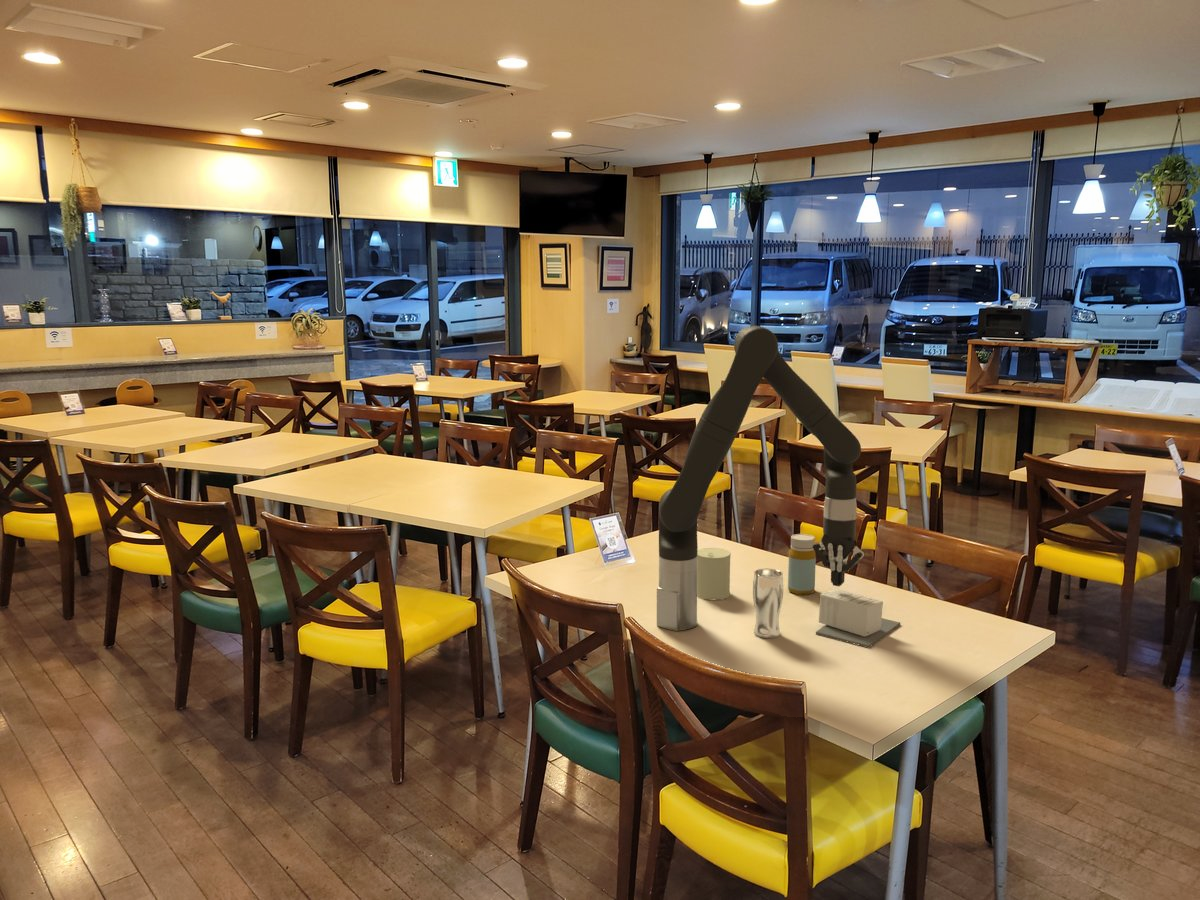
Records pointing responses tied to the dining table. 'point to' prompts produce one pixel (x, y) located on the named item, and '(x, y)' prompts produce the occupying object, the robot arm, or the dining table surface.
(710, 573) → the can
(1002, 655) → the dining table surface
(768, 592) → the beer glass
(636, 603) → the dining table surface
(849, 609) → the supplement box
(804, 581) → the bottle
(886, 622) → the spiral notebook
